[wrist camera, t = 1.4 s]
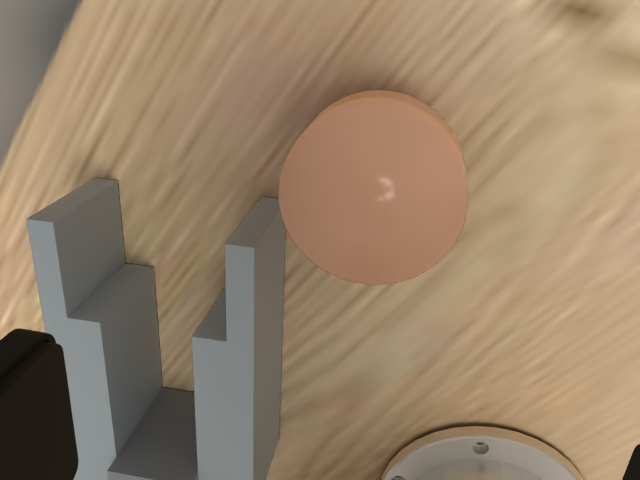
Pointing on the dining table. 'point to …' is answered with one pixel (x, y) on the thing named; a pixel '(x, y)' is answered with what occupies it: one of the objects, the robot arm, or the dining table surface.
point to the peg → (375, 188)
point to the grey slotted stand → (144, 349)
